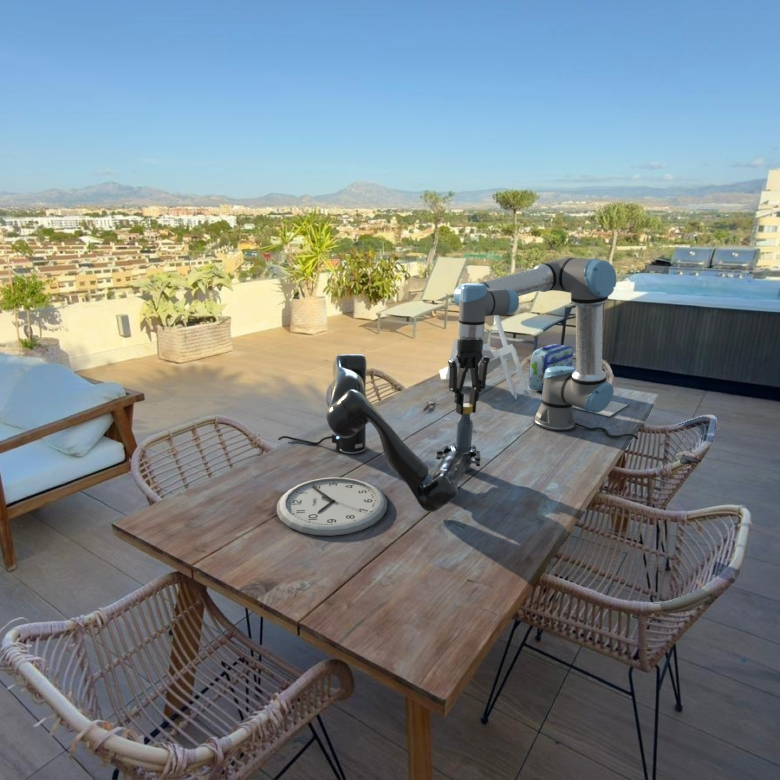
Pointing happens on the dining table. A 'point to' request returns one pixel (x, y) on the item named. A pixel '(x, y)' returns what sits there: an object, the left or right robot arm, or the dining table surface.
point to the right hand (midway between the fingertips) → (465, 412)
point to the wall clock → (331, 506)
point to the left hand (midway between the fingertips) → (465, 446)
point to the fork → (430, 403)
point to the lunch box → (548, 362)
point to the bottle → (464, 434)
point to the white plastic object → (493, 361)
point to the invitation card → (609, 408)
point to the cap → (467, 408)
